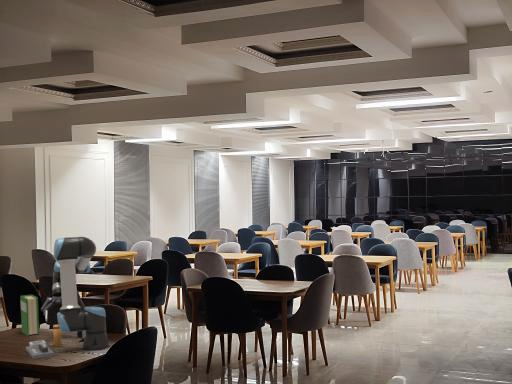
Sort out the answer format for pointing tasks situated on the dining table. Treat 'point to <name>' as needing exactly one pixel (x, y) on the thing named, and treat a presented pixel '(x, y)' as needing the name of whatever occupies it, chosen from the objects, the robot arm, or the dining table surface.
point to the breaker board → (39, 350)
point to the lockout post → (57, 335)
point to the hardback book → (29, 315)
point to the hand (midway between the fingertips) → (57, 319)
